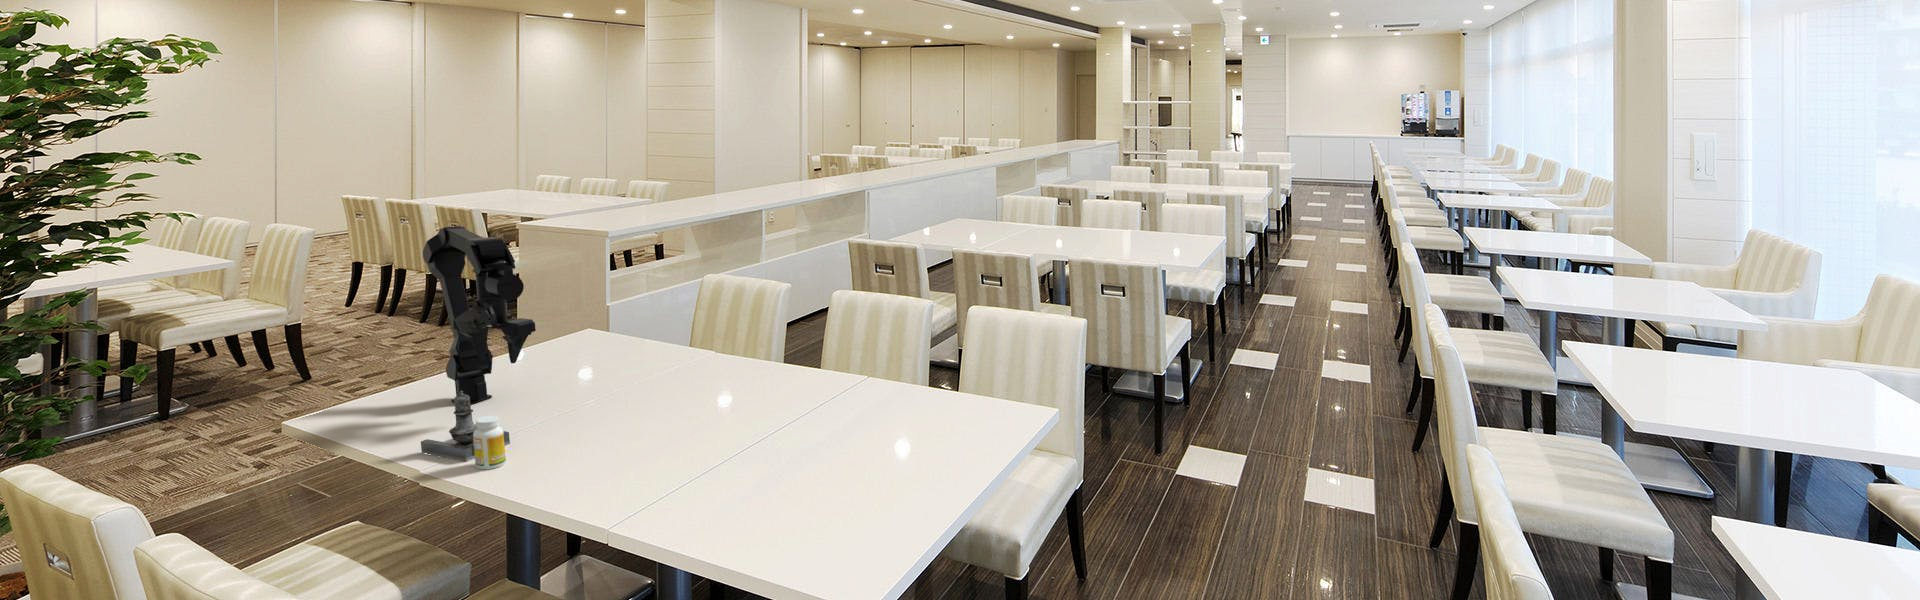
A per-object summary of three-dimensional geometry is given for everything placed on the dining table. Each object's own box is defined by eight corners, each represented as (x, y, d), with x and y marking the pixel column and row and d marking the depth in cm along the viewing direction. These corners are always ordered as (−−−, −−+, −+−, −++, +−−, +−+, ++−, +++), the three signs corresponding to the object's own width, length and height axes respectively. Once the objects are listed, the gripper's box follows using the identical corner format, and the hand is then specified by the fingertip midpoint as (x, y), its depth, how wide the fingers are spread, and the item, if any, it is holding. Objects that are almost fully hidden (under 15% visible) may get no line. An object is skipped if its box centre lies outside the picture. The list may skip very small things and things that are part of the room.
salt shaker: (461, 452, 186) (456, 396, 183) (444, 447, 189) (438, 391, 186) (488, 443, 191) (483, 388, 188) (471, 438, 194) (466, 384, 191)
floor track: (421, 453, 187) (420, 441, 186) (466, 436, 197) (465, 424, 196) (466, 461, 183) (465, 449, 182) (509, 443, 193) (508, 431, 192)
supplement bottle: (472, 470, 178) (467, 424, 176) (481, 460, 183) (476, 415, 181) (501, 469, 179) (497, 422, 177) (509, 459, 184) (505, 414, 182)
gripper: (429, 297, 200) (436, 365, 204) (494, 304, 194) (500, 374, 197) (471, 288, 211) (477, 353, 214) (534, 294, 204) (540, 361, 208)
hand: (497, 361), depth 208 cm, fingers open, 9 cm apart
